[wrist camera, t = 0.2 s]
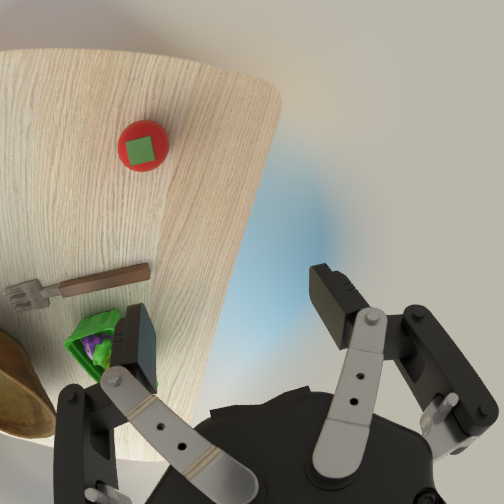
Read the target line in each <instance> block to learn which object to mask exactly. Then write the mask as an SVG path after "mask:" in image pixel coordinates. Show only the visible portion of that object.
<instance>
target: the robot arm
mask: <svg viewBox="0 0 504 504" xmlns="http://www.w3.org/2000/svg"><path fill="white" fill-rule="evenodd" d="M309 295H310V299H311V302H312V304H313V305H314V307H315V309H316V310H317V312H318V314H319V316H320V317H321V319H322V321H323V322H324V324H325V326H326V327H327V329H328V331H329V333H330V334H331V336H332V338H333V339H334V341H335V343H336V345H337V346H338V348H339V350H342V349H346V348H348V350H347V353H346V357H345V360H344V364H343V367H342V371H341V374H340V378H339V381H338V385H337V387H336V391H335V394H331V393H326V392H311V391H310V388H309V386H305V387H302V388H298V389H295V390H291V391H288V392H285V393H283V394H281V395H279V396H277V397H275V398H273V399H271V400H269V401H268V402H266V403H264V404H261V405H233V406H228V407H223V408H218V409H213V410H210V414H211V417H210V418H207V419H206V420H204V421H202V422H201V423H199V424H198V425H197V426H196V427H195V428H194V429H193V428H192V427H190V426H189V425H188V424H187V423H186V422H185V421H183V420H182V419H181V418H180V417H179V416H178V415H177V414H175V413H174V412H173V411H172V410H171V409H170V408H169V407H168V406H167V405H165V404H164V403H163V402H162V401H161V400H160V399H159V398H158V397H157V396H155V395H152V394H157V381H156V335H155V330H154V327H153V324H152V322H151V320H150V318H149V315H148V313H147V311H146V308H145V306H144V304H143V303H140V304H135V305H130V306H127V311H126V317H124V318H120V319H119V320H118V322H117V324H116V325H115V328H114V334H113V336H114V337H113V341H112V342H113V344H112V349H111V357H110V365H109V369H107V370H106V371H105V372H104V373H103V374H102V376H101V379H100V382H99V383H97V384H95V385H92V386H90V387H88V388H85V389H83V388H82V386H80V385H78V384H70V385H67V386H66V387H64V388H63V389H62V391H61V392H60V394H59V397H58V404H57V414H56V425H55V439H54V464H53V466H54V467H53V483H54V484H53V487H54V504H132V502H131V500H130V498H129V497H128V496H127V495H126V494H124V493H122V492H120V491H119V488H118V479H117V469H116V458H115V443H114V428H115V427H117V426H120V425H122V424H124V423H127V422H130V423H131V424H132V425H133V426H134V427H135V429H136V430H137V431H138V432H139V433H140V434H141V435H142V436H143V437H144V438H145V439H146V440H147V441H148V442H149V443H150V444H151V446H152V447H153V448H154V449H155V450H156V451H157V452H158V453H159V454H160V455H161V456H163V457H164V458H165V459H166V460H167V461H168V462H169V463H170V465H169V467H168V468H167V470H166V472H165V473H164V475H163V476H162V478H161V479H160V481H159V483H158V484H157V485H156V487H155V489H154V490H153V492H152V493H151V495H150V496H149V498H148V499H147V501H146V502H145V504H447V503H446V502H445V501H444V500H443V499H442V498H441V497H440V495H439V494H438V492H437V490H436V488H435V485H434V480H433V463H434V462H436V461H438V460H439V459H441V458H443V457H445V456H446V455H448V454H451V455H456V454H459V453H461V452H462V451H463V450H465V449H466V448H467V447H468V446H469V445H470V444H472V443H473V442H474V441H475V440H476V439H477V438H478V437H480V436H481V435H482V434H483V433H484V432H485V431H486V430H487V429H488V428H489V427H490V426H491V425H492V424H493V423H494V422H495V421H496V420H497V417H498V414H499V409H498V405H497V403H496V401H495V400H494V398H493V397H492V395H491V394H490V392H489V391H488V389H487V388H486V386H485V385H484V384H483V382H482V380H481V379H480V377H479V376H478V374H477V373H476V372H475V370H474V369H473V367H472V366H471V365H470V363H469V362H468V360H467V359H466V358H465V356H464V355H463V353H462V352H461V351H460V349H459V348H458V347H457V346H456V344H455V343H454V341H453V340H452V339H451V338H450V336H449V335H448V334H447V332H446V331H445V330H444V328H443V327H442V326H441V325H440V323H439V322H438V321H437V320H436V318H435V317H434V316H433V315H432V313H431V312H430V311H429V310H428V309H427V308H426V307H424V306H421V305H410V306H408V307H406V309H405V310H404V313H403V314H401V315H386V314H385V313H384V312H383V311H382V310H380V309H377V308H373V307H370V306H369V304H368V303H367V302H366V301H365V299H364V298H363V297H362V296H361V294H360V293H359V292H358V290H357V289H355V287H354V285H353V284H351V281H350V280H349V279H348V278H347V277H346V275H344V274H342V273H340V272H339V271H334V272H332V271H331V269H330V268H329V267H328V265H327V264H326V263H323V264H318V265H314V266H311V267H310V269H309ZM384 360H394V362H395V364H396V365H397V367H398V369H399V370H400V372H401V374H402V375H403V377H404V379H405V381H406V382H407V384H408V386H409V387H410V389H411V391H412V393H413V395H414V396H415V398H416V400H417V402H418V404H419V405H420V407H421V409H422V411H423V414H422V415H421V418H420V426H421V429H422V435H420V434H419V433H417V432H415V431H413V430H411V429H408V428H406V427H404V426H401V425H399V424H397V423H394V422H392V421H390V420H387V419H385V418H383V417H381V416H379V415H377V414H374V413H373V410H374V406H375V401H376V397H377V392H378V387H379V382H380V376H381V371H382V365H383V361H384Z"/></svg>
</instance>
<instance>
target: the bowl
mask: <svg viewBox="0 0 504 504" xmlns="http://www.w3.org/2000/svg"><path fill="white" fill-rule="evenodd" d="M56 414H57V413H56V411H55V409H54V407H53V404H52V403H51V401H50V399H49V397H48V395H47V394H46V392H45V390H44V388H43V386H42V384H41V383H40V380H39V378H38V376H37V374H36V372H35V370H34V368H33V366H32V364H31V362H30V360H29V357H28V355H27V354H26V352H25V350H24V349H23V348H22V347H21V345H20V344H19V343H18V342H17V341H16V340H15V339H13V338H12V337H11V336H10V335H8V334H7V333H5V332H3V331H1V330H0V430H1V431H3V432H6V433H8V434H10V435H13V436H17V437H22V438H29V439H33V438H46V437H50V436H52V435H54V434H55V425H56Z"/></svg>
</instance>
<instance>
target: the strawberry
mask: <svg viewBox="0 0 504 504" xmlns="http://www.w3.org/2000/svg"><path fill="white" fill-rule="evenodd" d="M168 151H169V138H168V135H167V133H166V131H165V130H164V128H163V127H162V126H160V125H159V124H158V123H156V122H153V121H149V120H141V121H137V122H134V123H132V124H131V125H129V126H128V127H127V128H126V129H125V130H124V131H123V132H122V134H121V136H120V138H119V141H118V154H119V157H120V159H121V161H122V162H123V164H124V165H125V166H126V167H128V168H129V169H131V170H134V171H138V172H146V171H150V170H153V169H155V168H156V167H158V166H159V165H160V164H161V163H162V162H163V161H164V160H165V158H166V156H167V154H168Z"/></svg>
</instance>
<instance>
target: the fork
mask: <svg viewBox="0 0 504 504" xmlns="http://www.w3.org/2000/svg"><path fill="white" fill-rule="evenodd" d="M149 279H150V271H149V268H148V265H147V263H144V264H140V265H135V266H131V267H126V268H122V269H117V270H113V271H108V272H104V273H100V274H95V275H91V276H86V277H82V278H77V279H73V280H69V281H64V282H61V283H60V284H58V285H53V286H49V287H45V288H41V286H40V284H39V282H38V280H33V281H29V282H25V283H23V284H19V285H15V286H11V287H7V288H6V289H5V291H4V292H5V294H6V295H9V294H13V293H17V292H22V291H24V293H25V294H21V295H17V296H12V297H11V298H10V300H9V301H10V302H11V304H13V303H18V302H22V301H27V300H29V301H30V302H29V303H25V304H20V305H16V307H15V311H16V312H21V311H26V310H31V309H40V308H45V307H48V306H49V304H50V302H49V301H48V299H47V298H48V297H53V296H58V295H62V297H63V298H64V297H69V296H74V295H78V294H83V293H88V292H93V291H98V290H102V289H107V288H112V287H116V286H121V285H126V284H131V283H135V282H140V281H145V280H149Z"/></svg>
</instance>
